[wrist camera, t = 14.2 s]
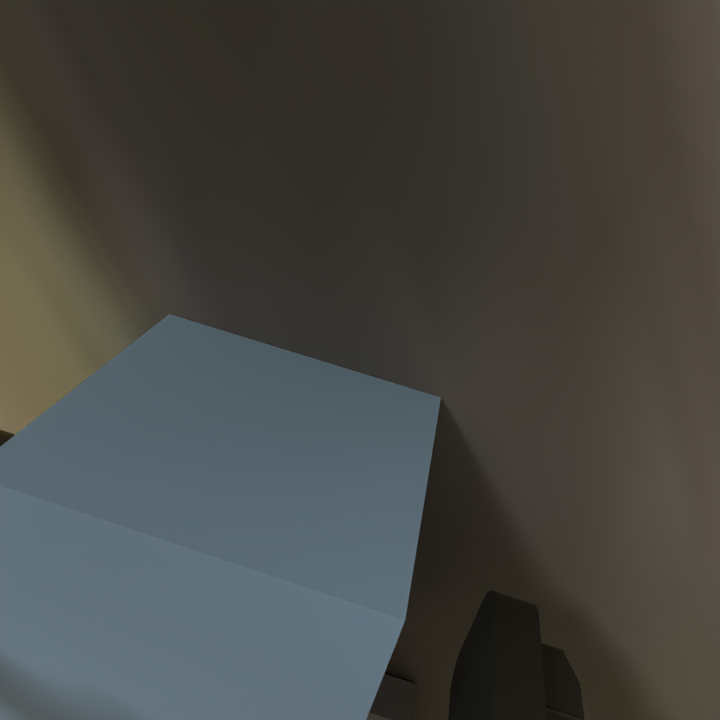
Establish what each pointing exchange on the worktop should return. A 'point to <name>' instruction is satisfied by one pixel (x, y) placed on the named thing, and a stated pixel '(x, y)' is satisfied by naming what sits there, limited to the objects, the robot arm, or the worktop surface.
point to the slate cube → (210, 535)
